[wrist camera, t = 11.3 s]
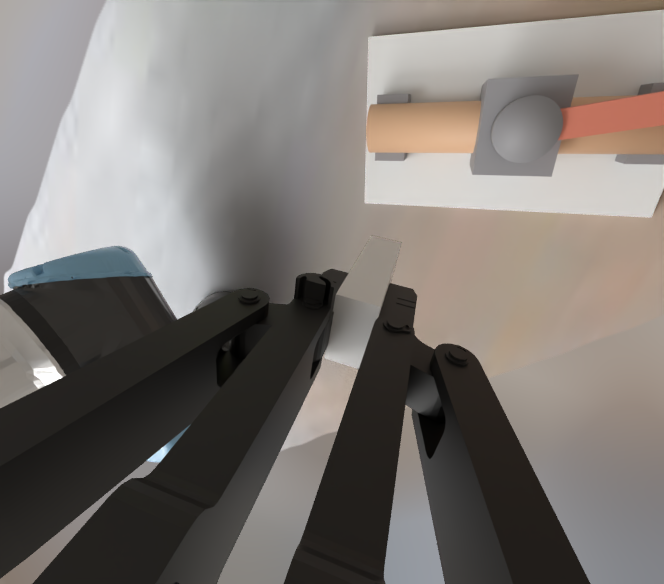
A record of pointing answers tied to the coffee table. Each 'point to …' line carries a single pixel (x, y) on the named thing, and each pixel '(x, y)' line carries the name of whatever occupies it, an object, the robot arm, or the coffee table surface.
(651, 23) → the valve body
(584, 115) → the lever
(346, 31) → the coffee table surface
